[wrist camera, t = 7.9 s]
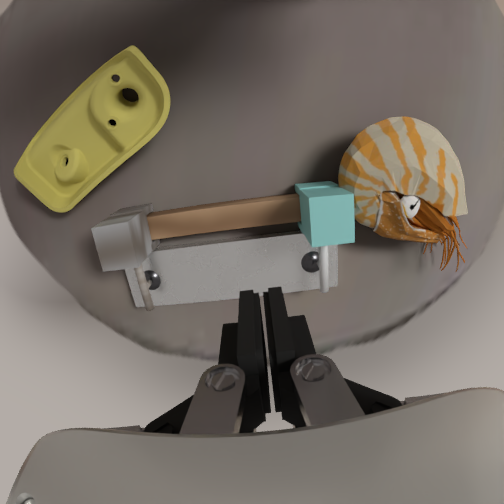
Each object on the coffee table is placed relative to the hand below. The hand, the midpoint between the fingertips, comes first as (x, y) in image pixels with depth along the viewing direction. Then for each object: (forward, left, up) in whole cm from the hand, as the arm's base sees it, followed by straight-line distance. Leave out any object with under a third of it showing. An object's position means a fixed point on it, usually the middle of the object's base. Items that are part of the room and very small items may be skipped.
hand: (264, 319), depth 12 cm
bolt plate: (+7, -4, -22) cm, 23 cm away
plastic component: (-12, -16, -22) cm, 30 cm away
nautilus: (+1, +18, -22) cm, 28 cm away
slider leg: (+4, +7, -21) cm, 23 cm away
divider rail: (+4, -3, -22) cm, 22 cm away
